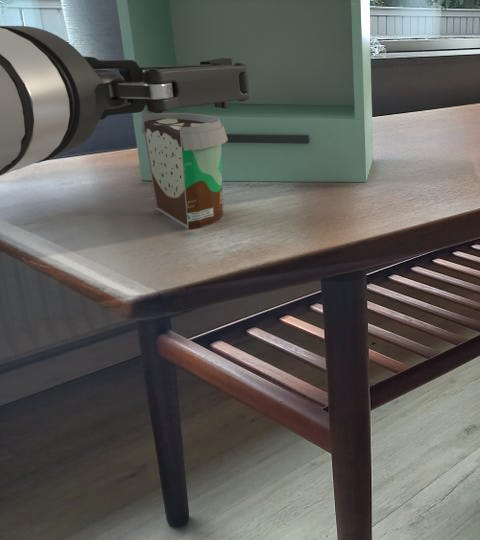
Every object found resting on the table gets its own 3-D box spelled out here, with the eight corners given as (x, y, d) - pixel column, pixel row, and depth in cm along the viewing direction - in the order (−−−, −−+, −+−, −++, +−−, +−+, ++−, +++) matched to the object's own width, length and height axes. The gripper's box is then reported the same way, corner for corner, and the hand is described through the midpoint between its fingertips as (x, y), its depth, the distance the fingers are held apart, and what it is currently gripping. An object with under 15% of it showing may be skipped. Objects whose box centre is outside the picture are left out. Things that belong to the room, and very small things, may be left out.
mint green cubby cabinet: (366, 183, 89) (359, -28, 80) (139, 181, 86) (108, -37, 78) (373, 159, 104) (368, -20, 96) (181, 157, 102) (159, -27, 93)
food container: (254, 222, 70) (246, 123, 67) (194, 232, 66) (182, 128, 63) (208, 198, 79) (198, 109, 76) (151, 206, 75) (139, 113, 72)
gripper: (-225, 165, 38) (-4, 117, 58) (243, 167, 40) (300, 120, 60) (-272, 20, 35) (-24, 22, 55) (230, 31, 37) (294, 29, 57)
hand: (145, 73), depth 58 cm, fingers open, 13 cm apart
